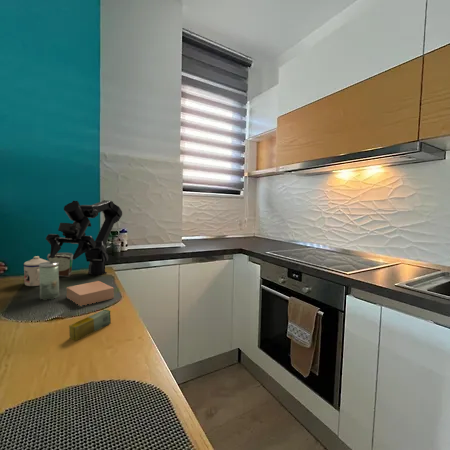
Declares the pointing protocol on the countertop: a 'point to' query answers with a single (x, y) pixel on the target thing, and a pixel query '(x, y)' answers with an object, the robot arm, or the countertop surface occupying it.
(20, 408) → the countertop surface
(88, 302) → the terracotta base
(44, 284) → the sage tin
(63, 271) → the food container
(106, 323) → the medication box
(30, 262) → the teacup with lid
